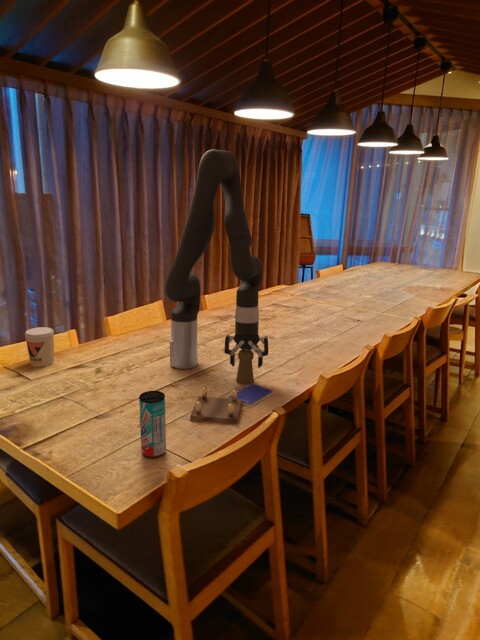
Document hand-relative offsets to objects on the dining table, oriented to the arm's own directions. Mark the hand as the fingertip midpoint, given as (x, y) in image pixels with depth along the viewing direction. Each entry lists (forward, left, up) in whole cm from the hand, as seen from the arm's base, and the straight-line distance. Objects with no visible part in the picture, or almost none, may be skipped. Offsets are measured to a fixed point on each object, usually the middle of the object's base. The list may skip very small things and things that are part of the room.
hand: (246, 366), depth 149 cm
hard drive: (+3, -10, -6) cm, 12 cm away
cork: (0, 0, -6) cm, 6 cm away
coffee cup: (-73, +4, -6) cm, 74 cm away
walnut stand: (-6, -22, -6) cm, 24 cm away
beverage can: (-18, -45, -6) cm, 49 cm away
